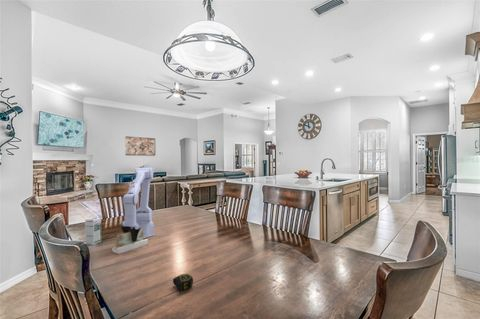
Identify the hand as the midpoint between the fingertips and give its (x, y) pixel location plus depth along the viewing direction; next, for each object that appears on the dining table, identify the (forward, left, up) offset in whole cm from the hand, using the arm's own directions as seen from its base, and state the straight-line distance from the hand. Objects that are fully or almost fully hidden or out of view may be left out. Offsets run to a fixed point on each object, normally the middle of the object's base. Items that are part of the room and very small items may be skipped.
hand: (130, 239), depth 131 cm
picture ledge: (0, 0, -4) cm, 4 cm away
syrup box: (+9, -25, -5) cm, 27 cm away
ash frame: (0, 0, -4) cm, 4 cm away
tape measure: (+10, +56, -5) cm, 57 cm away
